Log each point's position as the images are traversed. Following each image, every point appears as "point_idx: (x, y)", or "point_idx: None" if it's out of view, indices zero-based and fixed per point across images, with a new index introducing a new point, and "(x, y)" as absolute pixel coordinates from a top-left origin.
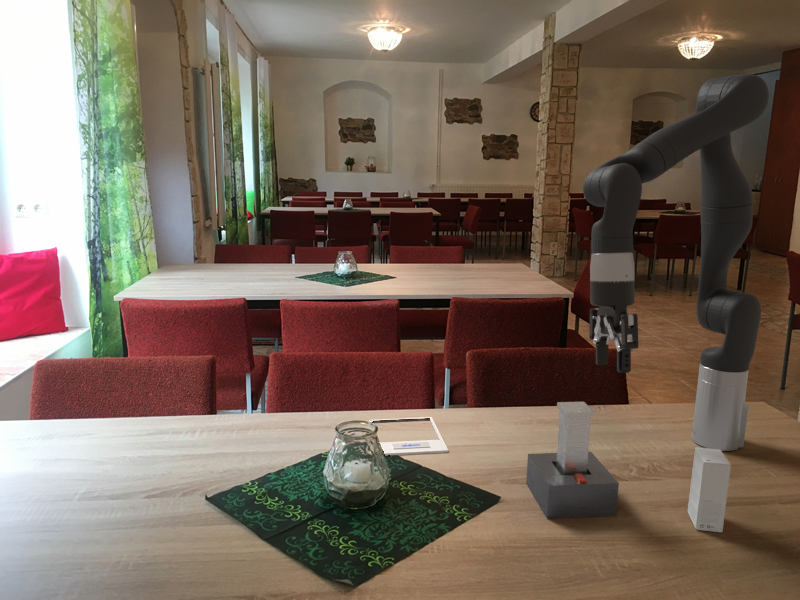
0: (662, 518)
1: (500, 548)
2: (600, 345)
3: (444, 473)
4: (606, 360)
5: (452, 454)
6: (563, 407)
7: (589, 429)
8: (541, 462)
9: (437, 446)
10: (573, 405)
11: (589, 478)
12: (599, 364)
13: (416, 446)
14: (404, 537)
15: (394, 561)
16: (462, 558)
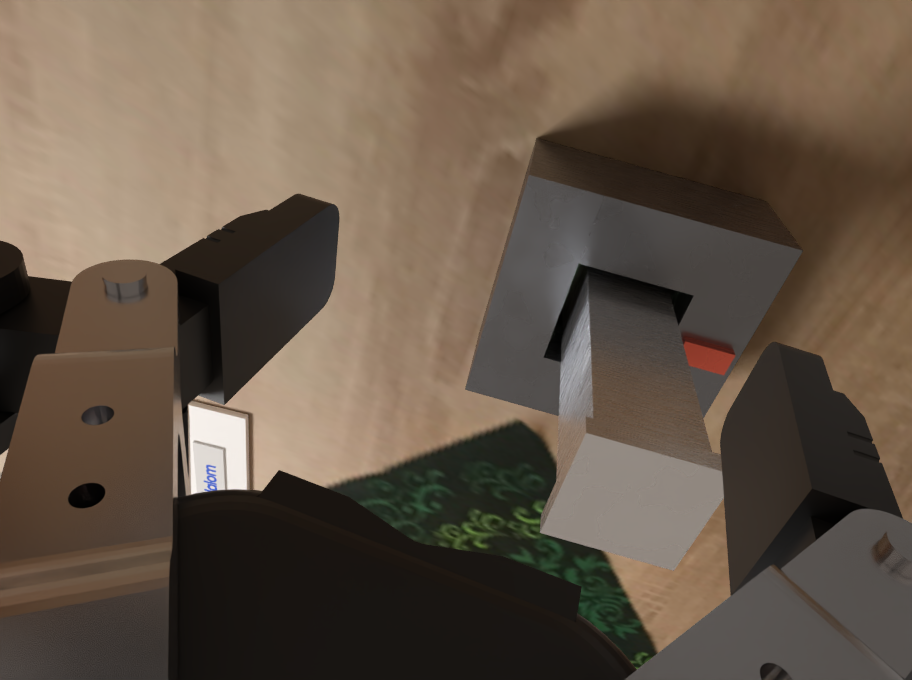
0: (882, 49)
1: (719, 522)
2: (224, 373)
3: (364, 470)
4: (317, 230)
5: (262, 411)
6: (611, 547)
7: (700, 414)
8: (538, 387)
9: (219, 431)
10: (609, 501)
11: (712, 321)
12: (333, 283)
13: (219, 474)
14: (591, 621)
15: (653, 655)
16: (707, 584)
